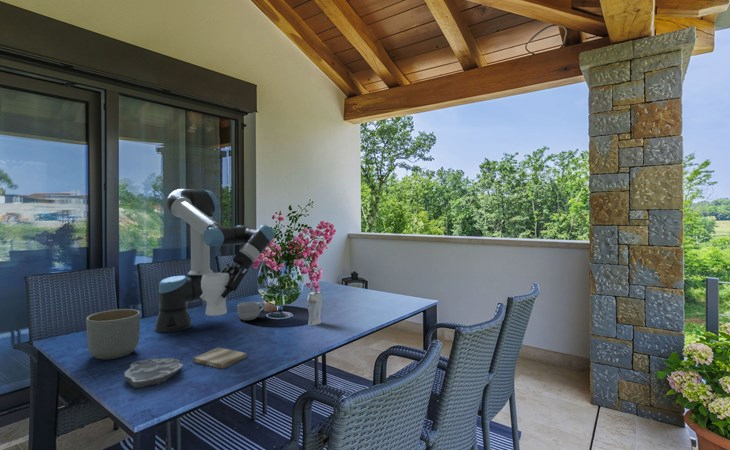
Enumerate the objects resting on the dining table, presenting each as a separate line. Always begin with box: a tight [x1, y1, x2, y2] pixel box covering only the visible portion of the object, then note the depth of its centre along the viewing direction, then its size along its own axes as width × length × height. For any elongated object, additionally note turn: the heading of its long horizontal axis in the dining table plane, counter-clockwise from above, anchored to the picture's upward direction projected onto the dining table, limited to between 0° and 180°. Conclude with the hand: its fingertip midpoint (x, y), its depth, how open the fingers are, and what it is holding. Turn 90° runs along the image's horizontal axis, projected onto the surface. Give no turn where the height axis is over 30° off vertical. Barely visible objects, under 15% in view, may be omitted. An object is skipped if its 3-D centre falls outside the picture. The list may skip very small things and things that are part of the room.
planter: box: [85, 308, 141, 361], centre depth 145 cm, size 17×17×15 cm
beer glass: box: [307, 291, 323, 326], centre depth 188 cm, size 7×7×15 cm
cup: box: [201, 272, 230, 317], centre depth 148 cm, size 11×11×15 cm
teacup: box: [237, 301, 265, 321], centre depth 195 cm, size 14×11×8 cm
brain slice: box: [123, 357, 184, 389], centre depth 128 cm, size 20×17×3 cm
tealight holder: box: [263, 299, 277, 313], centre depth 213 cm, size 8×8×6 cm
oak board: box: [192, 346, 248, 370], centre depth 142 cm, size 14×12×2 cm
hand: (208, 301), depth 146 cm, fingers closed on cup, 10 cm apart
